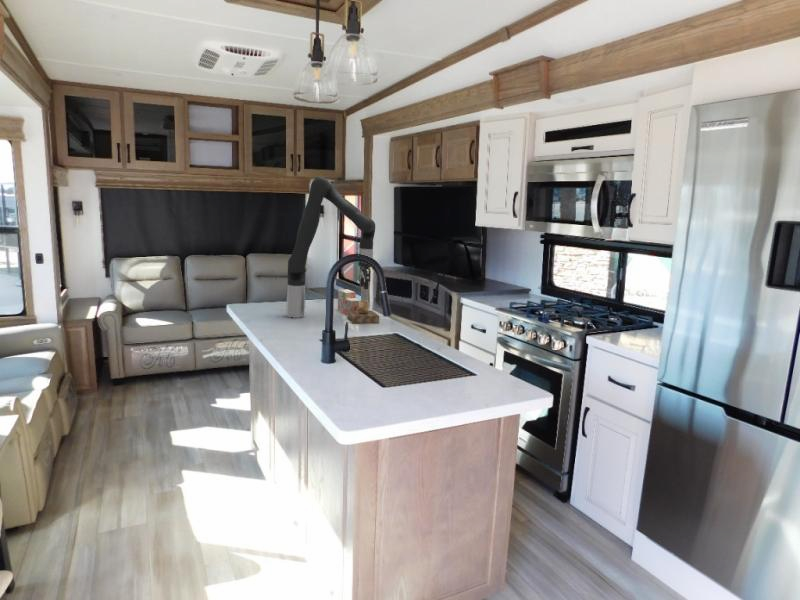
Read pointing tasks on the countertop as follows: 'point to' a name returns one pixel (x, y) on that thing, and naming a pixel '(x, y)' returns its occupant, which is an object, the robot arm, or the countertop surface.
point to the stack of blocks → (347, 301)
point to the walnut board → (363, 317)
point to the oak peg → (363, 307)
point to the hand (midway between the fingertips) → (364, 287)
